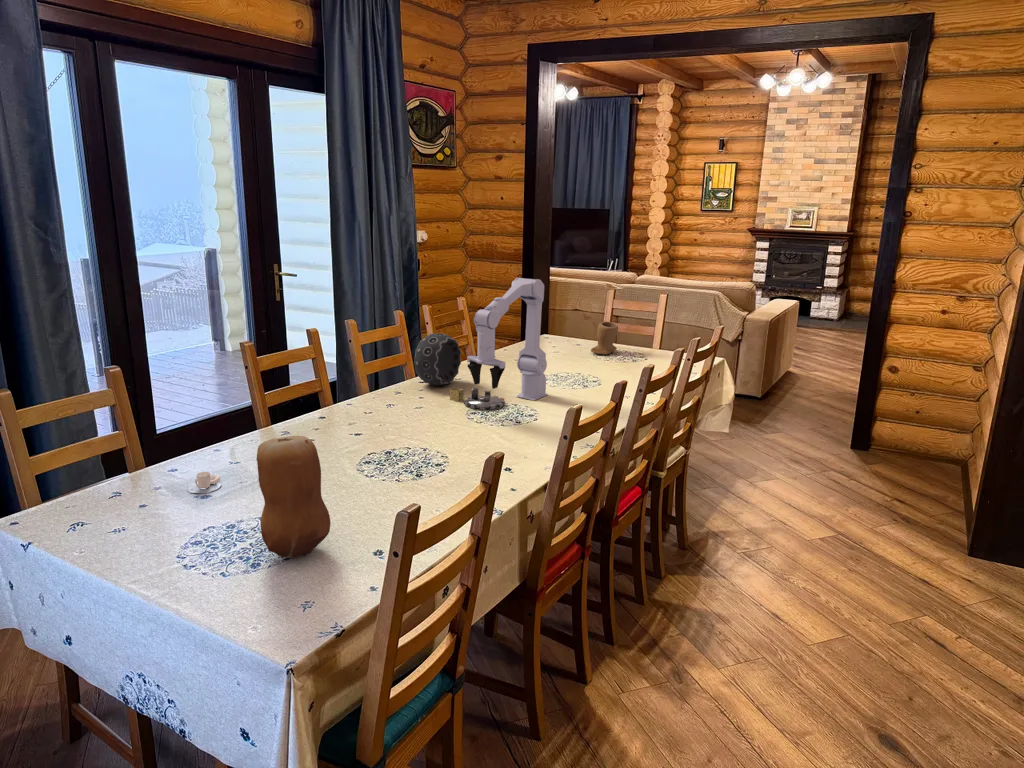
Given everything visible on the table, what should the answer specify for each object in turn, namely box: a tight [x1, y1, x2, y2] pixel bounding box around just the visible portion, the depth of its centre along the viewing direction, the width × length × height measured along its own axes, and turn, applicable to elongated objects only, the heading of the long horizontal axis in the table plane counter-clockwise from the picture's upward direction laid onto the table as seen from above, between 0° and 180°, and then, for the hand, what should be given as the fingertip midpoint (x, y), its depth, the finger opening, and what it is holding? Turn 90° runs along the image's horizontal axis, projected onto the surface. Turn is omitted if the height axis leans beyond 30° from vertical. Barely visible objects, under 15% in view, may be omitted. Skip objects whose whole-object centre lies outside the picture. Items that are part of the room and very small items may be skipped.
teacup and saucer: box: [194, 471, 221, 489], centre depth 172 cm, size 9×8×4 cm
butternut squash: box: [256, 435, 331, 559], centre depth 138 cm, size 14×13×25 cm
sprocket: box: [463, 387, 506, 411], centre depth 244 cm, size 14×14×5 cm
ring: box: [413, 333, 462, 387], centre depth 267 cm, size 11×20×20 cm, turn 153°
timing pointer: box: [484, 390, 492, 396], centre depth 253 cm, size 1×2×2 cm, turn 85°
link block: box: [449, 387, 465, 403], centre depth 250 cm, size 4×3×4 cm
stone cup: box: [590, 320, 619, 355], centre depth 328 cm, size 15×12×15 cm
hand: (485, 385), depth 231 cm, fingers open, 7 cm apart
